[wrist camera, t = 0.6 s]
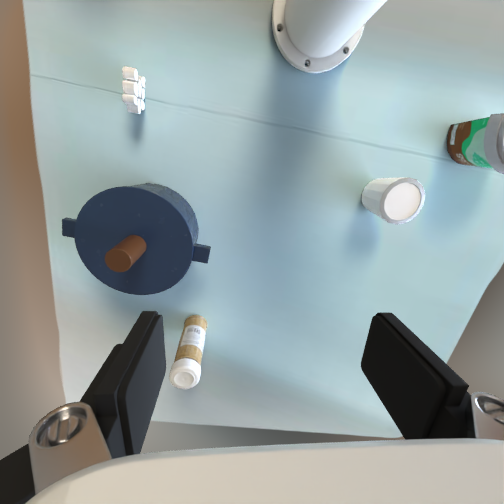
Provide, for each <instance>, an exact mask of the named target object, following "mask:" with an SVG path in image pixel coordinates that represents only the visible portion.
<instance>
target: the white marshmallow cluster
mask: <svg viewBox="0 0 504 504" xmlns="http://www.w3.org/2000/svg"><path fill="white" fill-rule="evenodd" d="M122 72H123V77H124V78H125V79H127V81H126V80H123V81H122V86H123V91H124V93H125V94H122V99H123V102H124V103H126V104H127V110H128V112H131V113H137V114H140V113H141V110H143V111H144V109H145V103H144V101H143V100H142V99H144V98H145V89H143V88H145V77H143V76H138V72H137V69H136V68H131V67H126V66H124V67H123V70H122Z"/></svg>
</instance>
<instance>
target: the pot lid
mask: <svg viewBox="0 0 504 504" xmlns="http://www.w3.org/2000/svg"><path fill="white" fill-rule="evenodd" d="M74 235H75V243H76V248H77V251H78V253H79V256H80V258H81V260H82V262H83V263H84V264H85V266H86V267H87V269H88V270H89V271H90V272H91V273H92V274H93V275H94V276H95V277H96V278H97V279H99V280H100V281H101V282H103V283H104V284H106V285H107V286H109V287H111V288H113V289H116V290H118V291H121V292H124V293H129V294H135V295H148V294H155V293H159V292H162V291H164V290H167V289H169V288H171V287H172V286H174V285H175V284H176V283H178V282H179V281H180V280H181V279H182V278H183V276H184V275H185V274H186V272H187V270H188V269H189V266H190V264H191V261H192V257H193V251H194V244H193V237H192V233H191V230H190V227H189V225H188V223H187V221H186V219H185V218H184V216H183V215H182V213H181V212H180V211H179V210H178V209H177V208H176V207H175V206H174V205H173V204H172V203H171V202H170V201H168V200H167V199H166V198H164V197H162V196H161V195H159V194H157V193H155V192H152V191H150V190H147V189H143V188H139V187H130V186H123V187H115V188H111V189H107V190H105V191H102V192H100V193H98V194H97V195H95V196H93V197H92V198H91V199H90V200H88V201H87V203H86V204H85V205H84V206H83V207H82V209H81V211H80V212H79V215H78V217H77V220H76V224H75V232H74Z"/></svg>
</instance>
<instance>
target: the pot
mask: <svg viewBox="0 0 504 504" xmlns="http://www.w3.org/2000/svg"><path fill="white" fill-rule="evenodd" d="M130 187H139V188H143V189H147V190H150V191H152V192H155V193H157V194H159V195H161V196H162V197H164V198H166V199H167V200H168V201H170V202H171V203H172V204H173V205H174V206H175V207H176V208H177V209H178V210H179V211H180V212H181V213H182V215H183V216H184V218H185V219H186V221H187V223H188V225H189V227H190V230H191V233H192V237H193V244H194V251H193V257H192V261H197V262H203V263H208V259H209V254H210V248H211V247H210V246H205V245H201V244H196V241H197V237H198V224H197V219H196V216H195V213H194V211H193V210H192V208H191V206H190V205H189V204H188V202H187V201H186V200H185V199H184V198H183V197H182V196H181V195H179V194H178V193H177V192H175V191H173V190H172V189H170V188H168V187H165V186H162V185H157V184H151V183H146V184H140V185H134V186H130ZM75 224H76V219H71V218H64V219H62V235H63V236H67V237H73V238H75V235H74V232H75Z"/></svg>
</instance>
